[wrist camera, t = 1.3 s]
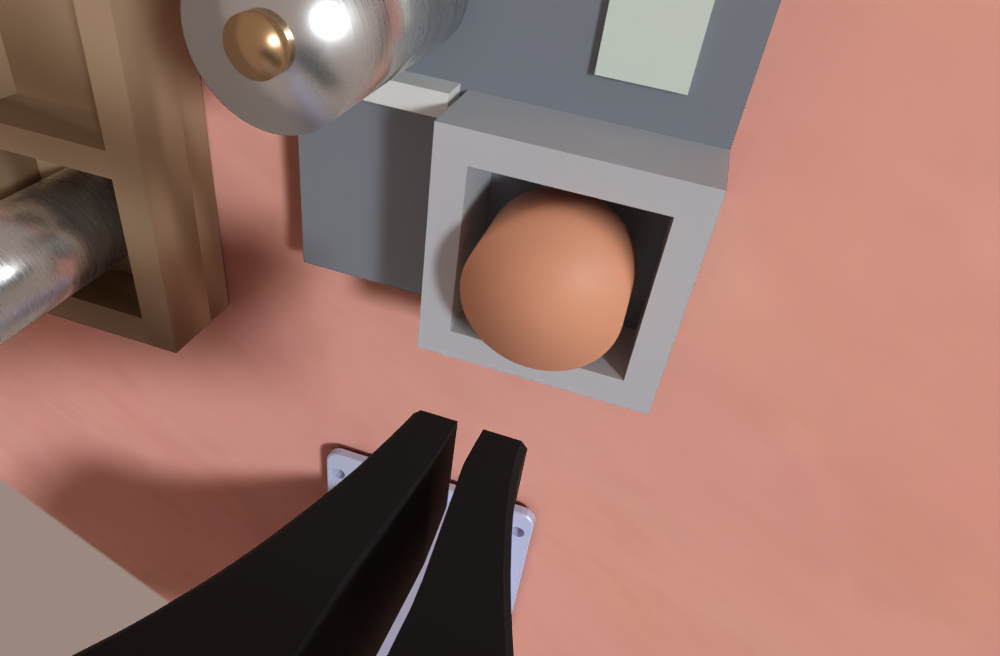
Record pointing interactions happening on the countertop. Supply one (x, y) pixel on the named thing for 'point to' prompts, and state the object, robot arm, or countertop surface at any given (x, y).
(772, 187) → the countertop surface
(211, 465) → the countertop surface
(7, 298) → the cell
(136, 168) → the wooden divided tray
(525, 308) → the button
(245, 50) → the cylinder
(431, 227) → the grey board with box
